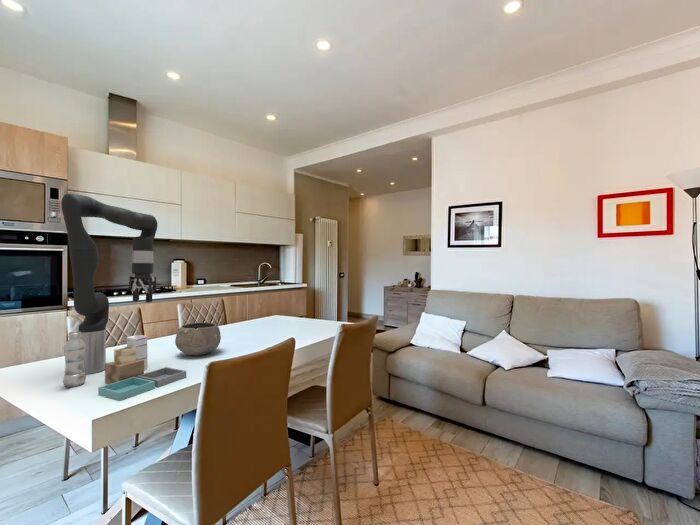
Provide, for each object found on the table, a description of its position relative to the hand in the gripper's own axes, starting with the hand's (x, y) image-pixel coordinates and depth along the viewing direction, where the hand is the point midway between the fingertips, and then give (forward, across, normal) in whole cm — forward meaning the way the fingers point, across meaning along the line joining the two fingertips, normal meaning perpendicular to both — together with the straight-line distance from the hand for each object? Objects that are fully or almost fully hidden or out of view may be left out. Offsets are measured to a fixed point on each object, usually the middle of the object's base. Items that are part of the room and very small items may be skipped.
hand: (142, 301), depth 135 cm
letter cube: (+22, -3, +8) cm, 24 cm away
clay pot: (+30, +6, -33) cm, 45 cm away
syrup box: (+30, +9, -4) cm, 32 cm away
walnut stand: (+30, -3, +8) cm, 31 cm away
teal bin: (+30, -14, +14) cm, 36 cm away
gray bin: (+30, -14, +1) cm, 33 cm away
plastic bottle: (+30, +10, +18) cm, 37 cm away
